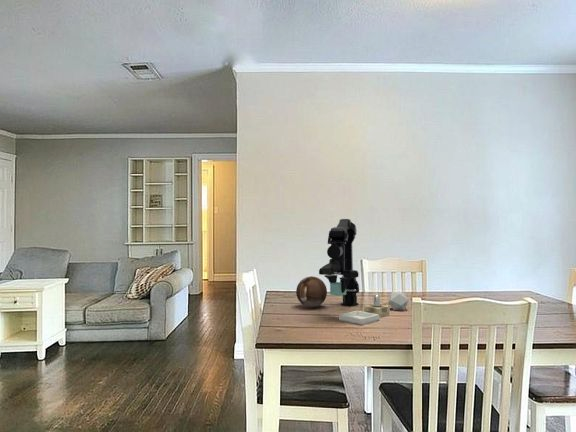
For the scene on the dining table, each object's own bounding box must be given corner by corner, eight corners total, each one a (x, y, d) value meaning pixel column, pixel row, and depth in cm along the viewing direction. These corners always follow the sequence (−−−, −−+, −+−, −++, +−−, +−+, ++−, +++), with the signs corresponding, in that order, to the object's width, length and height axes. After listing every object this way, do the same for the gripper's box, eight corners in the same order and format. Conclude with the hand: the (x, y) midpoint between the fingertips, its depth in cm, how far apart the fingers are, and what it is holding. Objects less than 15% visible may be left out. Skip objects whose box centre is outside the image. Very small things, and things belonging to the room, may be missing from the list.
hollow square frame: (364, 315, 212) (364, 306, 212) (374, 312, 217) (374, 303, 217) (378, 317, 206) (378, 308, 206) (389, 315, 211) (389, 306, 211)
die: (404, 313, 217) (413, 295, 220) (386, 303, 218) (396, 285, 222) (399, 316, 225) (409, 298, 228) (383, 306, 226) (392, 289, 230)
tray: (339, 320, 202) (339, 314, 202) (356, 316, 210) (356, 310, 210) (361, 325, 193) (361, 319, 193) (379, 320, 201) (379, 314, 201)
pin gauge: (376, 314, 213) (376, 294, 213) (380, 315, 212) (380, 295, 211) (372, 315, 212) (372, 295, 212) (377, 316, 210) (377, 295, 210)
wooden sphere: (314, 302, 241) (314, 273, 240) (333, 307, 228) (333, 277, 228) (290, 306, 232) (290, 276, 232) (308, 311, 220) (308, 279, 220)
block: (330, 294, 208) (330, 283, 207) (337, 293, 211) (337, 282, 211) (338, 295, 204) (338, 284, 204) (346, 294, 207) (346, 283, 207)
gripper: (310, 256, 209) (310, 291, 209) (342, 259, 195) (342, 297, 195) (327, 255, 216) (327, 288, 216) (359, 257, 202) (359, 293, 202)
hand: (338, 292), depth 207 cm, fingers closed on block, 5 cm apart
